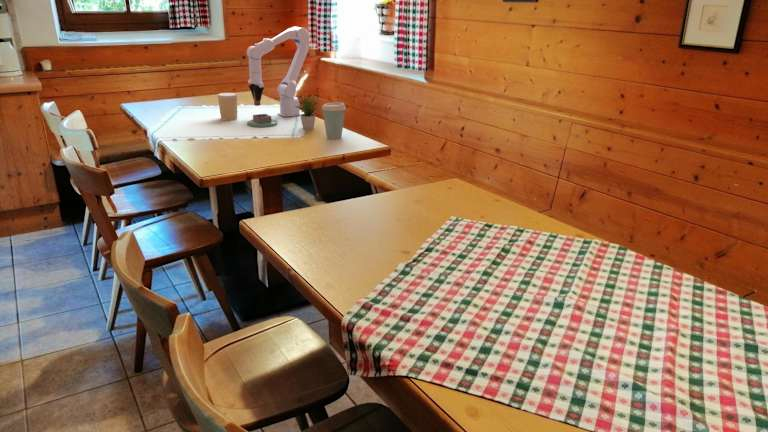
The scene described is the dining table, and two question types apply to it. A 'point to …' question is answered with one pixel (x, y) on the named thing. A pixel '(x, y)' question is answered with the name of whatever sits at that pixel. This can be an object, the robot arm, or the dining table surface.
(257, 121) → the candle dish
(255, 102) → the walnut peg
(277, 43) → the robot arm
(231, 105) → the coffee cup
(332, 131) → the disposable coffee cup
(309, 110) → the house plant
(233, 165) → the dining table surface
